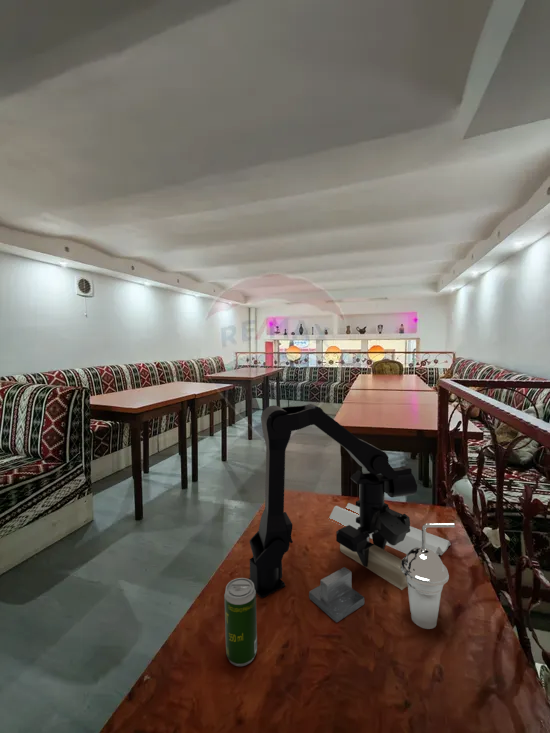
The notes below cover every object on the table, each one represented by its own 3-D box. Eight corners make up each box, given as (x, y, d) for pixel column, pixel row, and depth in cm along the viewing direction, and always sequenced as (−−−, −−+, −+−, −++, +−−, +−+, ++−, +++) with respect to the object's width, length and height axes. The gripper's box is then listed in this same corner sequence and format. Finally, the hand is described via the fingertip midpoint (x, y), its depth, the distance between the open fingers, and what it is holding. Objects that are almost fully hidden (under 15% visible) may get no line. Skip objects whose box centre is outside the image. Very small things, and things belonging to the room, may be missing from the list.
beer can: (256, 639, 63) (255, 575, 62) (258, 666, 57) (256, 597, 57) (226, 642, 62) (224, 578, 62) (225, 669, 57) (223, 600, 56)
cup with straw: (412, 596, 73) (413, 504, 71) (458, 621, 66) (459, 519, 65) (392, 618, 67) (392, 518, 66) (439, 648, 60) (441, 537, 59)
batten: (401, 591, 75) (401, 568, 74) (340, 552, 89) (339, 533, 89) (409, 585, 76) (409, 563, 76) (347, 548, 91) (347, 529, 91)
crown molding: (450, 548, 91) (450, 534, 91) (431, 568, 83) (431, 554, 82) (350, 508, 114) (350, 497, 113) (327, 521, 105) (327, 510, 105)
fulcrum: (336, 622, 66) (336, 595, 66) (309, 598, 73) (308, 573, 72) (364, 604, 71) (364, 578, 70) (336, 582, 77) (336, 559, 77)
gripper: (373, 525, 70) (373, 599, 71) (425, 500, 81) (425, 564, 82) (334, 505, 79) (334, 570, 80) (385, 485, 90) (385, 543, 91)
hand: (371, 562), depth 83 cm, fingers open, 5 cm apart
